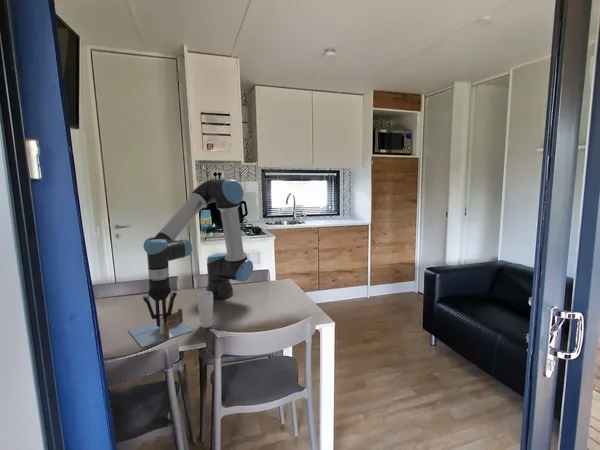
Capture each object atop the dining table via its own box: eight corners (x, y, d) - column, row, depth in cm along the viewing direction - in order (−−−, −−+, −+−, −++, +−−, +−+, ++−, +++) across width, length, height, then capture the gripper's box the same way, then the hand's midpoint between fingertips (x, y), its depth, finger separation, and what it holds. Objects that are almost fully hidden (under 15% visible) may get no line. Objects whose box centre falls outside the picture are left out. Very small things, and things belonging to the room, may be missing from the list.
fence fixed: (163, 325, 147) (162, 313, 146) (182, 320, 152) (181, 308, 151) (165, 327, 146) (164, 314, 145) (183, 321, 151) (182, 309, 150)
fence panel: (158, 326, 146) (157, 314, 145) (162, 325, 147) (161, 313, 146) (165, 338, 135) (164, 325, 134) (169, 337, 136) (168, 323, 135)
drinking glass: (200, 322, 151) (198, 291, 149) (215, 321, 151) (214, 290, 149) (197, 329, 144) (195, 296, 142) (213, 328, 145) (211, 295, 142)
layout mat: (128, 330, 143) (128, 330, 143) (176, 316, 157) (176, 316, 157) (142, 347, 129) (141, 347, 129) (193, 330, 143) (193, 330, 143)
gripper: (142, 282, 127) (145, 340, 131) (177, 277, 134) (180, 333, 137) (140, 277, 134) (144, 332, 137) (174, 273, 140) (177, 325, 143)
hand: (162, 332), depth 137 cm, fingers closed
